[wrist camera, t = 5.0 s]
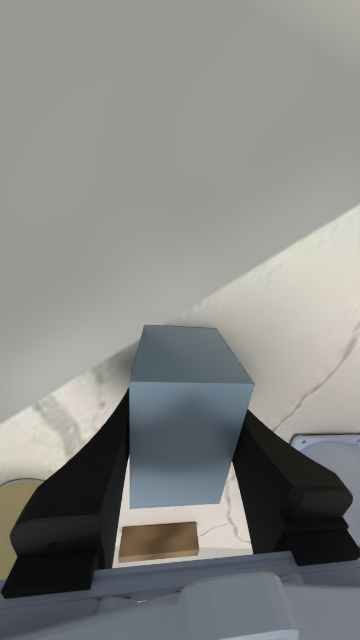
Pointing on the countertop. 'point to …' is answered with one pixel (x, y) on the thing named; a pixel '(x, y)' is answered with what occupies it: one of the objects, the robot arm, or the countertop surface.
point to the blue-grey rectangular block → (184, 416)
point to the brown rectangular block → (158, 542)
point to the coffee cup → (12, 517)
